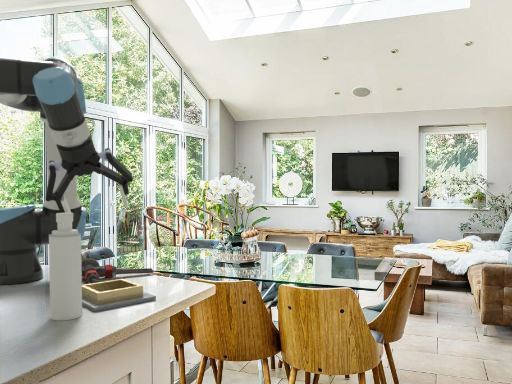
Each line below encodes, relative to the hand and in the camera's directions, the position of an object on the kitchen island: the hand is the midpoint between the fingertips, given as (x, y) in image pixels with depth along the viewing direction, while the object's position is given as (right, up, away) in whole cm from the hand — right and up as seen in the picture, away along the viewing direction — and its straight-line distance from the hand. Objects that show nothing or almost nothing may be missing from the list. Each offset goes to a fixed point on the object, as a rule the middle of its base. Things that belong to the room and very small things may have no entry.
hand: (98, 211), depth 114 cm
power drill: (-6, -23, +30) cm, 38 cm away
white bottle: (-4, -24, -11) cm, 26 cm away
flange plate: (+2, -23, +4) cm, 23 cm away
